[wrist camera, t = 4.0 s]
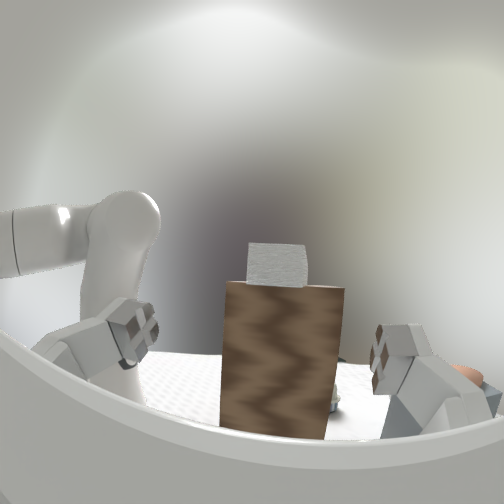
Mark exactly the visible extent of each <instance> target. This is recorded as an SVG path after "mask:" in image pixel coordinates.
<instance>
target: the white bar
mask: <svg viewBox="0 0 504 504" xmlns="http://www.w3.org/2000/svg"><path fill="white" fill-rule="evenodd" d="M248 251H249V252H248V265H247V280H246V284H249V285H263V286H278V287H295V288H303V287H304V286H306V285H307V274H308V262H307V257H306V252H305V246H304V245H291V244H266V243H249V250H248Z"/></svg>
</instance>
